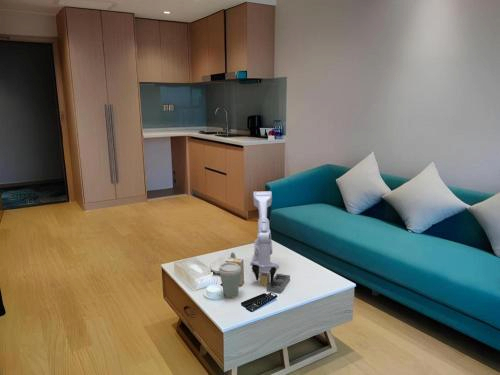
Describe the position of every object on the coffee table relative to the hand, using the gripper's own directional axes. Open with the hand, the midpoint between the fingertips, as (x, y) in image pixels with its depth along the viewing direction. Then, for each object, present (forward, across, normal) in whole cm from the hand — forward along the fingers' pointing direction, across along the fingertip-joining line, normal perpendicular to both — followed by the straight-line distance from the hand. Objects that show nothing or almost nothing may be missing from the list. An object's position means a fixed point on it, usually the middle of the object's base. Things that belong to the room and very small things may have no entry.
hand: (264, 280), depth 195 cm
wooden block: (+2, 0, 0) cm, 2 cm away
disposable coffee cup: (+2, -12, -16) cm, 20 cm away
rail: (+2, +7, +2) cm, 7 cm away
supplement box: (+2, -15, -4) cm, 15 cm away
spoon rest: (+3, -28, +12) cm, 31 cm away
